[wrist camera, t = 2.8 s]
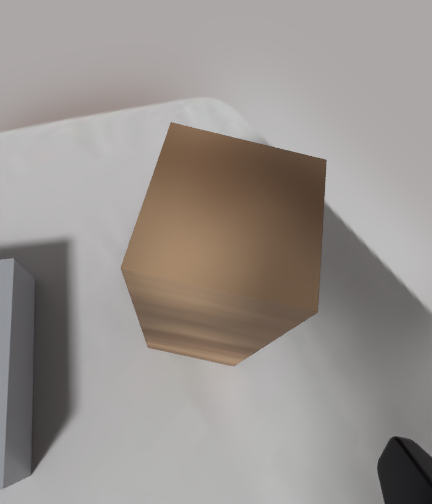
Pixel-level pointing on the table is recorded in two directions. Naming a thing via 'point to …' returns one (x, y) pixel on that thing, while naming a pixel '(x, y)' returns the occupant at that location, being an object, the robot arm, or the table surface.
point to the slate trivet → (16, 371)
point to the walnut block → (225, 245)
